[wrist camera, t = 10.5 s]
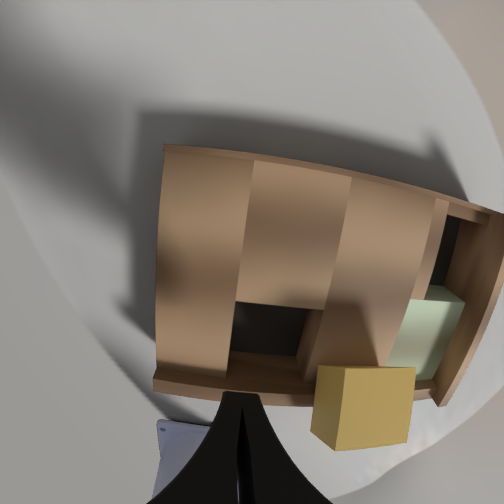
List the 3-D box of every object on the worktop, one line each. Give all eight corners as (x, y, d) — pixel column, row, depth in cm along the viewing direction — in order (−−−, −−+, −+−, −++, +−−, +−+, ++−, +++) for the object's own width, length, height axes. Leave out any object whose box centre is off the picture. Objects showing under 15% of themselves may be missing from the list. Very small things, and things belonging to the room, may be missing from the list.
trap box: (417, 366, 20) (446, 405, 16) (167, 352, 19) (149, 402, 14) (470, 204, 17) (519, 219, 12) (179, 146, 15) (152, 141, 11)
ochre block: (378, 366, 16) (371, 427, 15) (318, 365, 16) (310, 431, 15) (416, 367, 13) (406, 442, 11) (345, 368, 12) (334, 451, 11)
